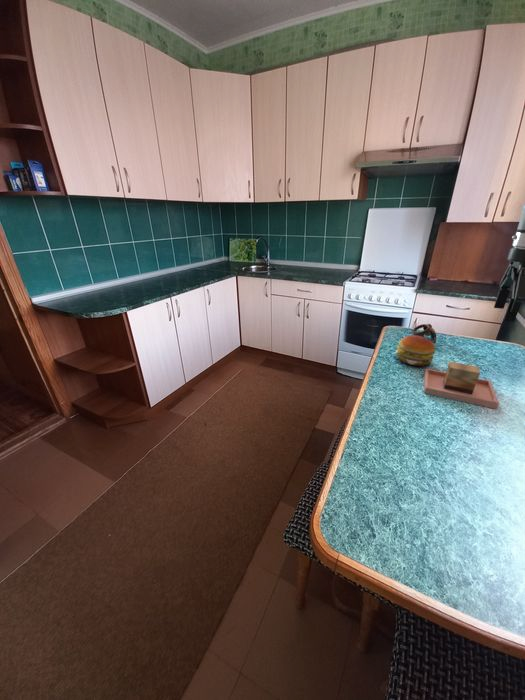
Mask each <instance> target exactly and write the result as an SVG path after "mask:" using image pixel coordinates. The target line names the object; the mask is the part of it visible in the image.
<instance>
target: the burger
mask: <svg viewBox="0 0 525 700" xmlns="http://www.w3.org/2000/svg"><path fill="white" fill-rule="evenodd" d="M396 347H397V349H396V350H395V353H394V355H395V356H397V358H398V360H399V361H401V362H403V363H404V364H406V365H409V366H416V367H424V366H427V365H429V364H430V363H431V362H432V361H433V359H434V357H435V356H434V355H435V353H436V351H435V350H436V346H435V343H434V342H432V340H430V339H429V338H427V337H425V336H424V337H422V336H416V335H415V336H412V335H407V336H404V337H403V338H401V339H400V341H399V343H398V345H397V346H396Z"/></svg>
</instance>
